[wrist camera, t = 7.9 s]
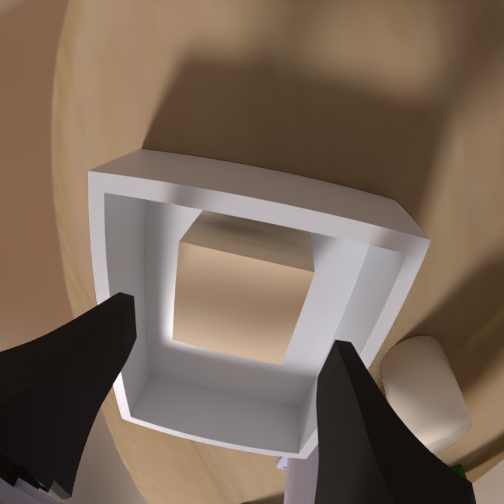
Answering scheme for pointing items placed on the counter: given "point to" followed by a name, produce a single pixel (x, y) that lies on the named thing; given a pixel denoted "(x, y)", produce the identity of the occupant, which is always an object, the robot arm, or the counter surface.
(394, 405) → the cream cylinder
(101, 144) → the counter surface
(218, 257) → the maple cube
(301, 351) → the box
